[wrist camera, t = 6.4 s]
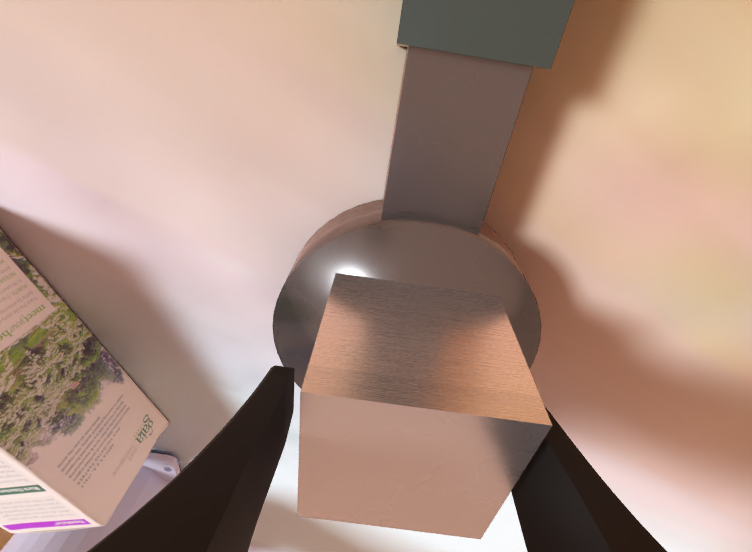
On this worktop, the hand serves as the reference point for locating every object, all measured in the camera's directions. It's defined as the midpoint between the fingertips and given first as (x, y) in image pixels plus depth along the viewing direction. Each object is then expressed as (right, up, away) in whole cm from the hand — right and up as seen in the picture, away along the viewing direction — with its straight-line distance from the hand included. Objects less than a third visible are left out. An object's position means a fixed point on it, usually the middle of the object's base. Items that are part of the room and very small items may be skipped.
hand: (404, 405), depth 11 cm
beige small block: (0, +1, +2) cm, 3 cm away
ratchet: (+1, +7, +2) cm, 7 cm away
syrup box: (-19, +5, +1) cm, 20 cm away
